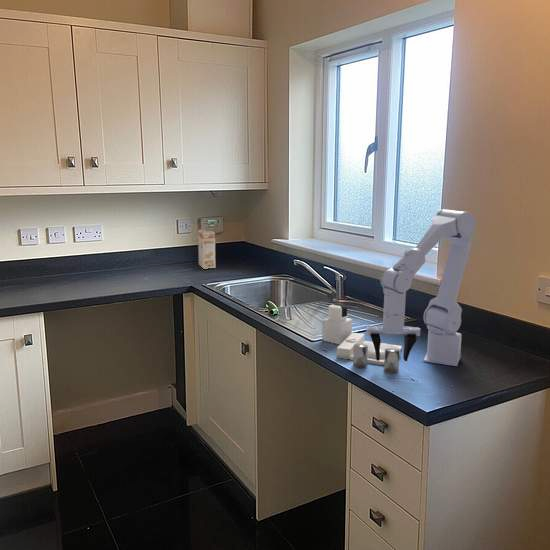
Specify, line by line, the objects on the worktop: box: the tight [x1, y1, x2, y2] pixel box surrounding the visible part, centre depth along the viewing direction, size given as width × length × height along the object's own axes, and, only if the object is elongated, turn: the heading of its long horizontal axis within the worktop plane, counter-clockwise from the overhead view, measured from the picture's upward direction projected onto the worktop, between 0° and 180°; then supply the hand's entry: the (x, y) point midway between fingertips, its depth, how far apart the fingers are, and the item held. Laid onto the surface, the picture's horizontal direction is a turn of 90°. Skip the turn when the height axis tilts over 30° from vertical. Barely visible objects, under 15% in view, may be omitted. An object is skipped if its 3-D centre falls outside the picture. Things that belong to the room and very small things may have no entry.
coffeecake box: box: [197, 228, 217, 270], centre depth 298 cm, size 15×7×20 cm, turn 16°
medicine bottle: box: [321, 303, 353, 346], centre depth 182 cm, size 7×7×12 cm
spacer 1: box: [352, 343, 368, 369], centre depth 161 cm, size 4×4×6 cm
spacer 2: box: [383, 348, 401, 374], centre depth 157 cm, size 4×4×6 cm
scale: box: [336, 332, 403, 366], centre depth 170 cm, size 17×16×4 cm
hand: (391, 359), depth 157 cm, fingers open, 7 cm apart
